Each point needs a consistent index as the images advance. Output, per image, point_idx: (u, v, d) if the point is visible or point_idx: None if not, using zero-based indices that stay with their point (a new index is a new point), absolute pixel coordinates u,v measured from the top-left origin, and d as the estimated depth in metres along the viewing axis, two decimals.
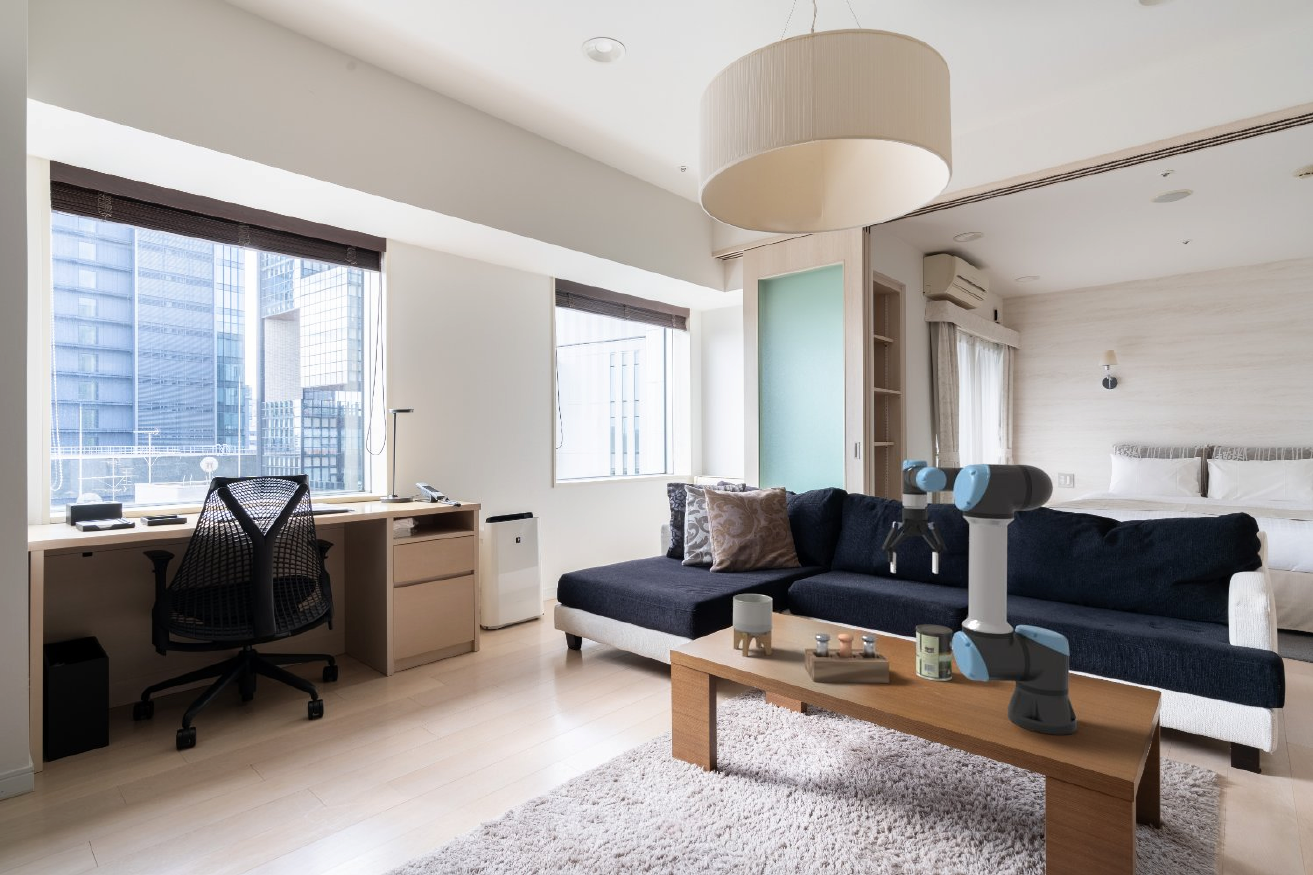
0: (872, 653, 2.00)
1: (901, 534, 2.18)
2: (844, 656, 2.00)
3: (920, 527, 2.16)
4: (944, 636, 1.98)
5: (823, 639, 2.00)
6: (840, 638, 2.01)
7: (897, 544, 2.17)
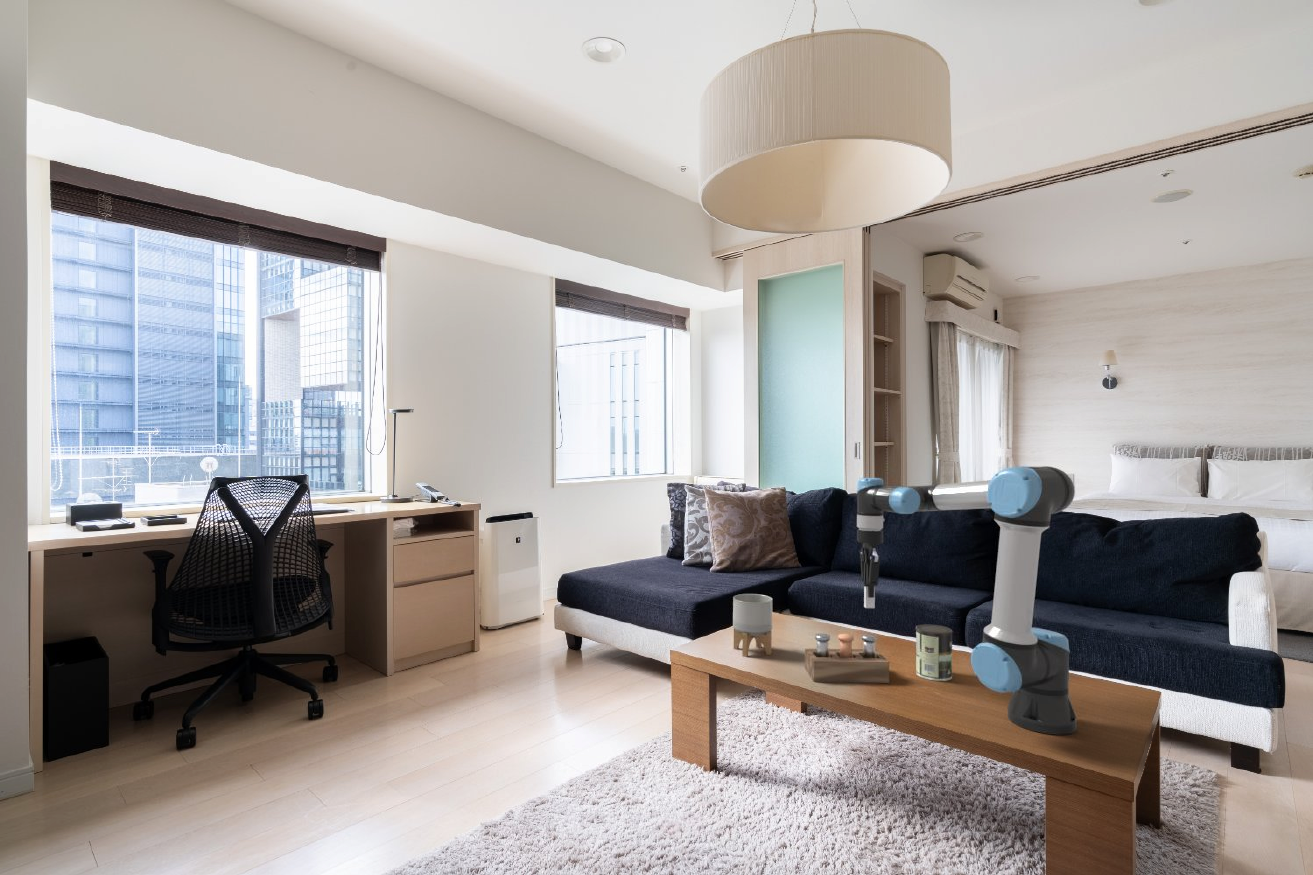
0: (872, 653, 2.00)
1: None
2: (844, 656, 2.00)
3: (864, 550, 2.01)
4: (944, 636, 1.98)
5: (823, 639, 2.00)
6: (840, 638, 2.01)
7: (864, 573, 2.03)
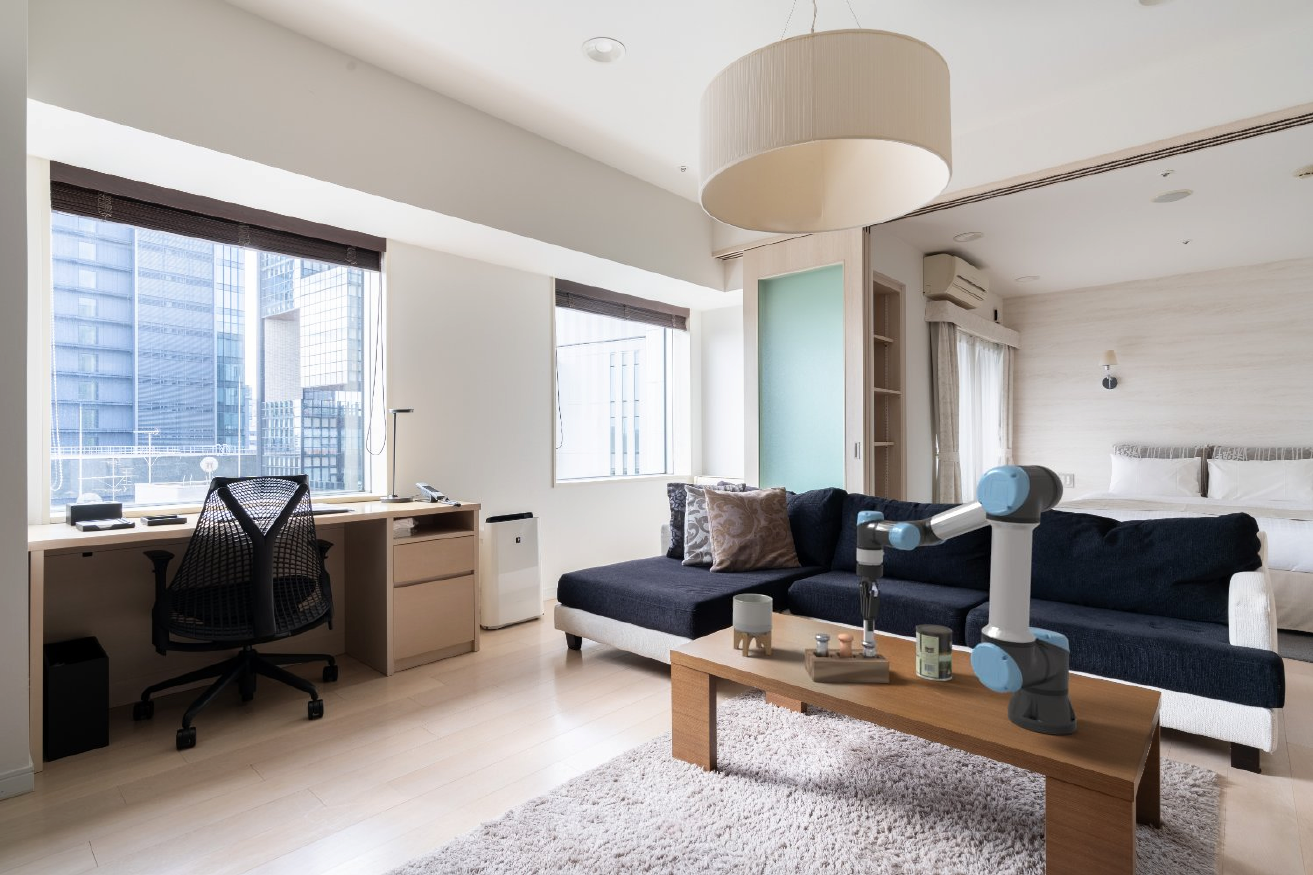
0: None
1: None
2: (844, 656, 2.00)
3: (864, 584, 2.01)
4: (944, 636, 1.98)
5: (823, 639, 2.00)
6: (840, 638, 2.01)
7: (863, 607, 2.03)
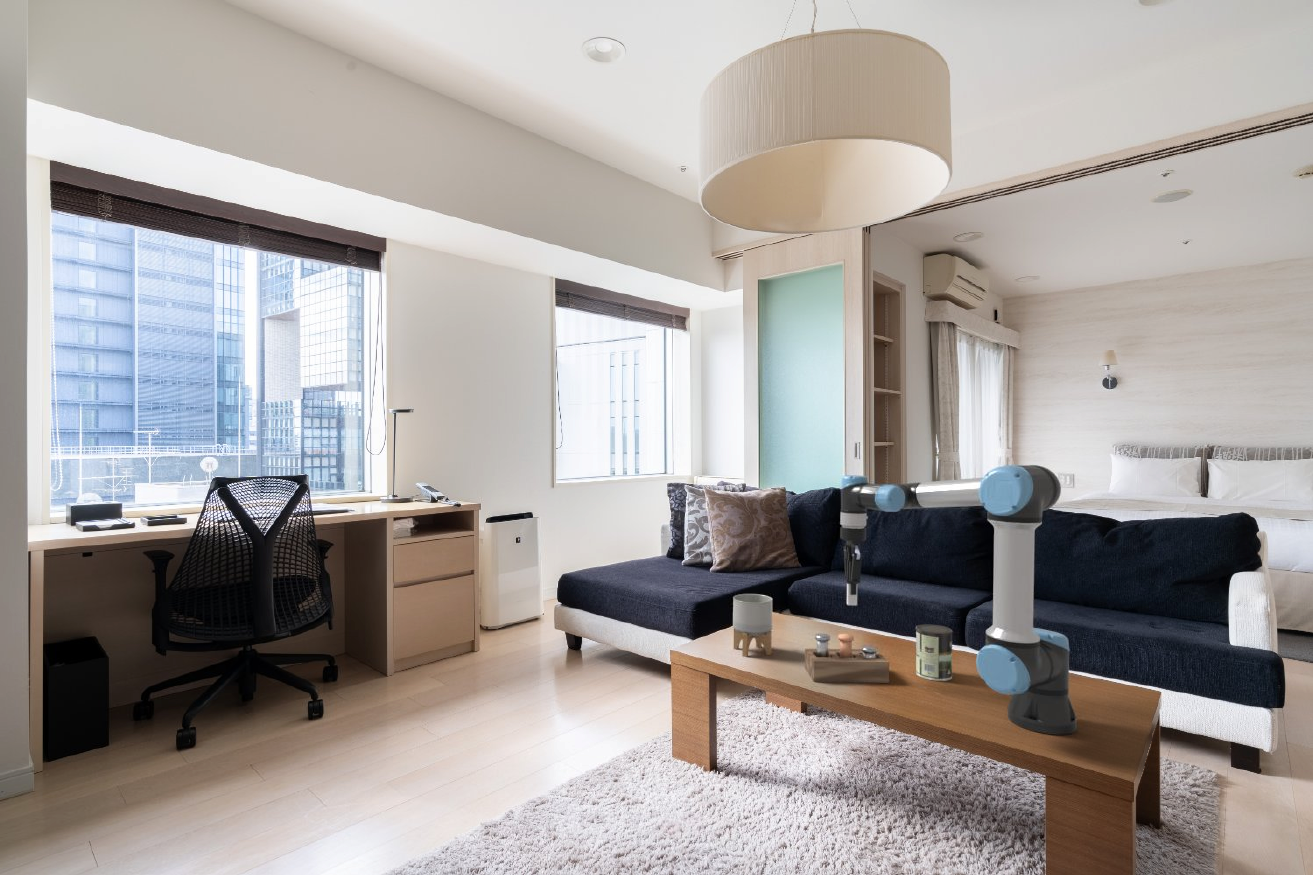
0: None
1: None
2: (844, 656, 2.00)
3: (847, 547, 2.01)
4: (944, 636, 1.98)
5: (823, 639, 2.00)
6: (840, 638, 2.01)
7: (847, 571, 2.04)
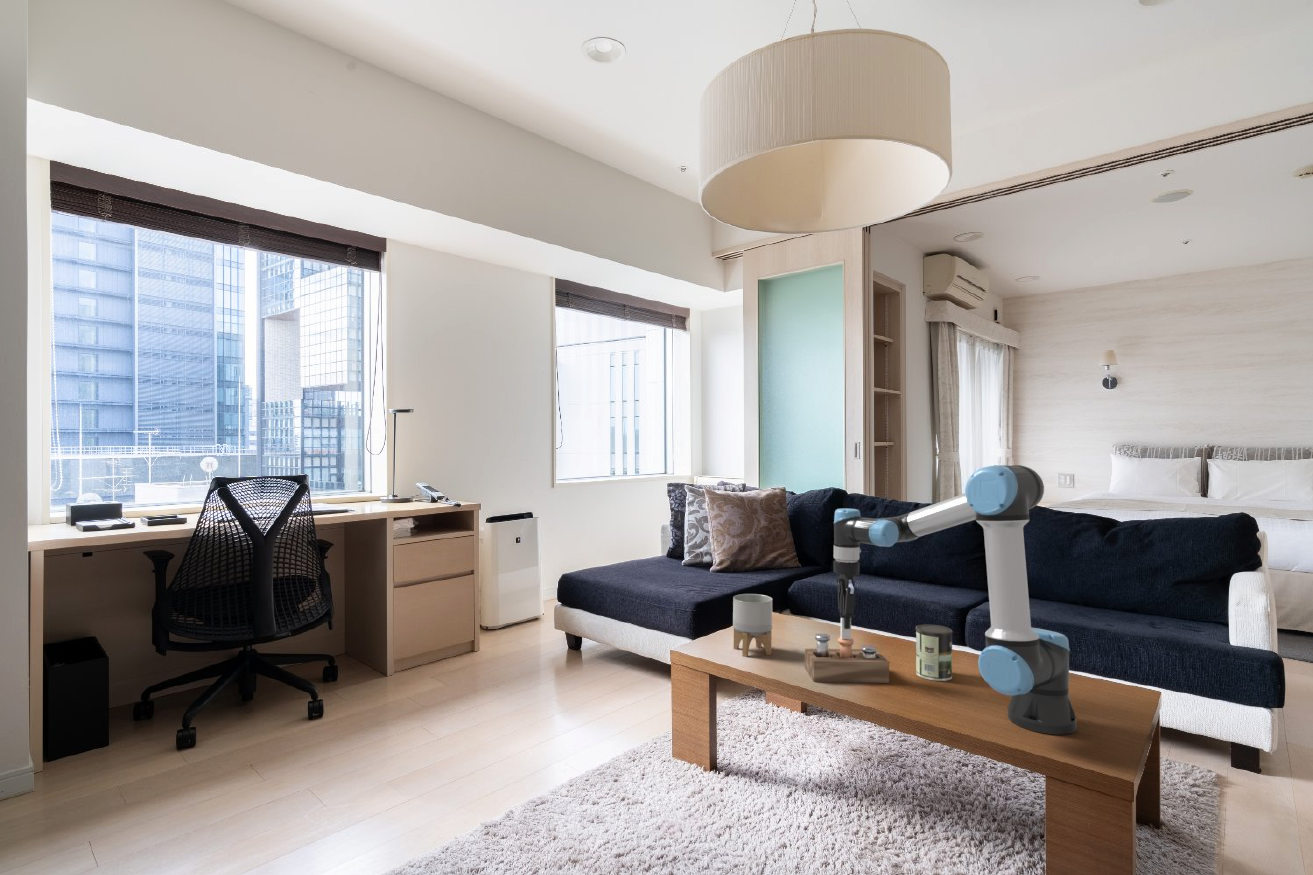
0: None
1: None
2: None
3: (840, 581, 2.01)
4: (944, 636, 1.98)
5: (823, 639, 2.00)
6: (840, 641, 2.01)
7: (840, 604, 2.03)
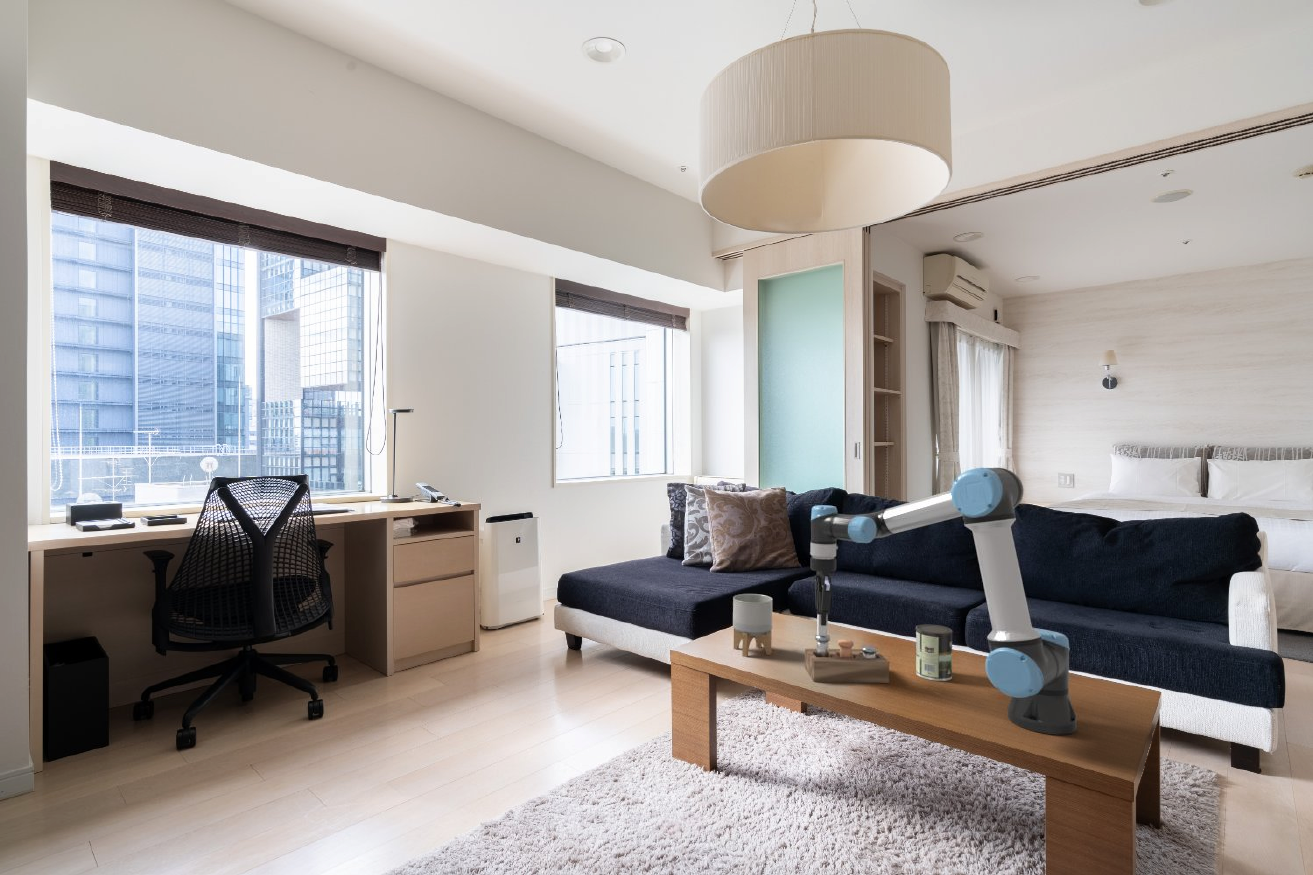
0: None
1: None
2: None
3: (817, 578, 2.01)
4: (944, 636, 1.98)
5: (823, 639, 2.00)
6: (840, 644, 2.01)
7: (817, 601, 2.03)
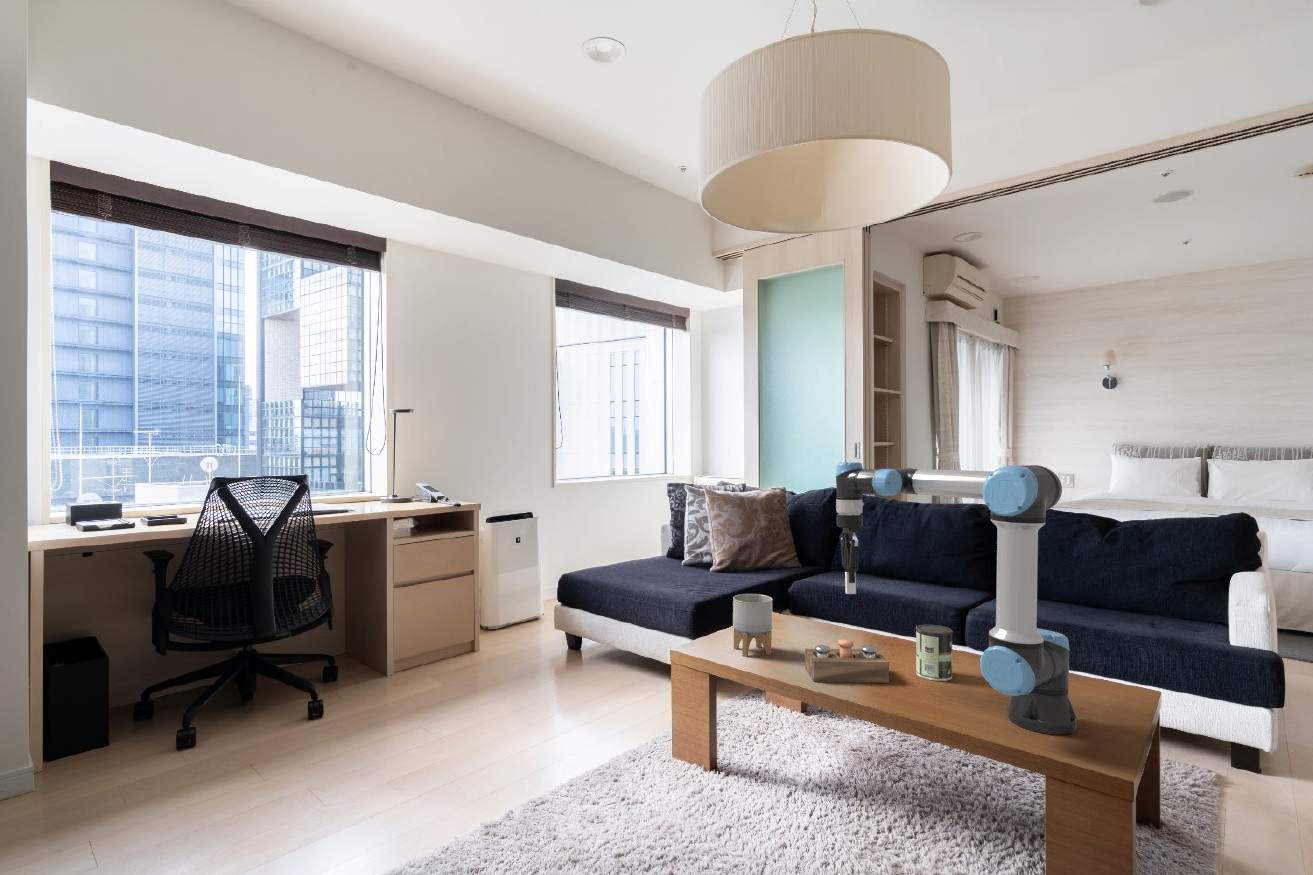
0: None
1: None
2: None
3: (844, 535, 1.98)
4: (944, 636, 1.98)
5: (823, 651, 2.00)
6: (840, 644, 2.01)
7: (845, 559, 2.01)
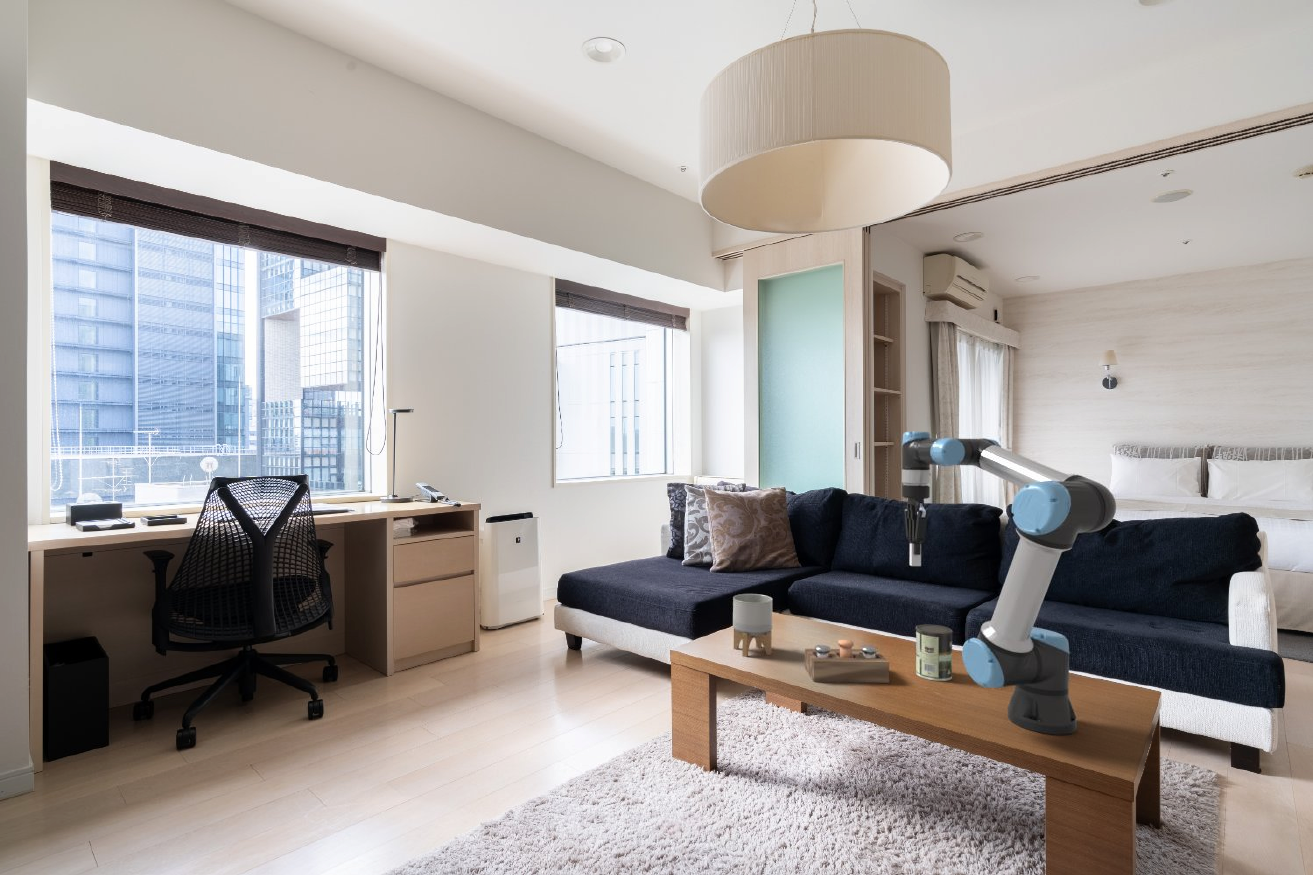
0: None
1: None
2: None
3: (910, 506, 1.94)
4: (944, 636, 1.98)
5: (823, 651, 2.00)
6: (840, 644, 2.01)
7: (909, 531, 1.96)
